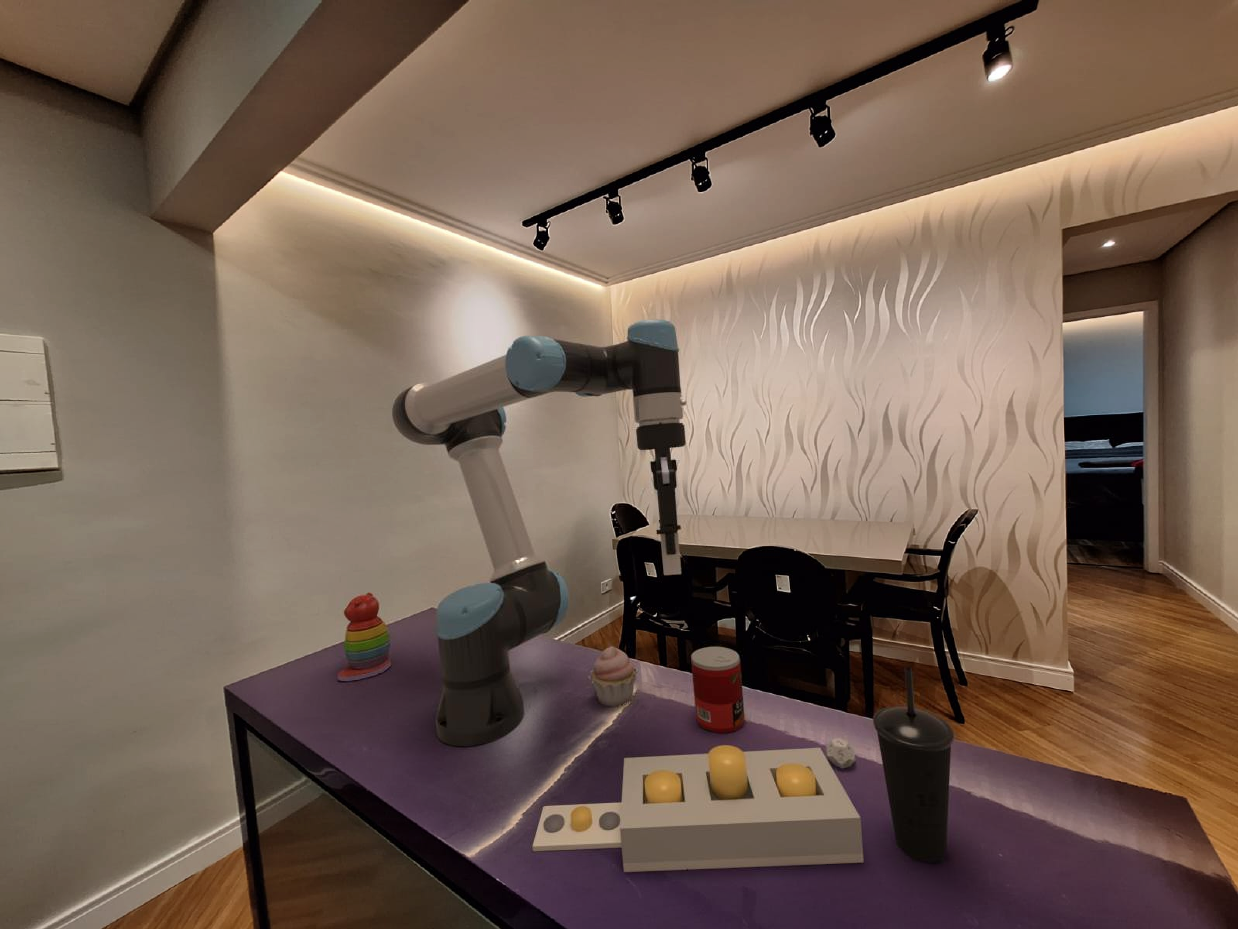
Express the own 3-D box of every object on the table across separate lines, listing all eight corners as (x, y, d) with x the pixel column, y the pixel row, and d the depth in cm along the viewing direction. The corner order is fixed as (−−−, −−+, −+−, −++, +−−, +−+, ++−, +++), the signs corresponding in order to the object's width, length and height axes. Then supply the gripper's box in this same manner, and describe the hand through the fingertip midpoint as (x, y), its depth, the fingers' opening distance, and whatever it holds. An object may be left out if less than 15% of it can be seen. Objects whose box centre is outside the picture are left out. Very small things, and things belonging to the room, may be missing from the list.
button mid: (713, 803, 57) (710, 769, 57) (708, 777, 61) (706, 746, 61) (751, 801, 57) (748, 767, 56) (743, 775, 61) (741, 744, 61)
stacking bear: (364, 660, 119) (356, 589, 118) (402, 659, 118) (394, 587, 117) (332, 682, 108) (323, 604, 108) (374, 681, 107) (365, 602, 106)
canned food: (746, 735, 76) (740, 666, 76) (695, 733, 78) (689, 666, 78) (743, 708, 84) (738, 646, 83) (697, 707, 85) (691, 646, 85)
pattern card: (533, 851, 58) (531, 836, 58) (544, 810, 64) (542, 797, 64) (625, 847, 57) (623, 832, 57) (627, 806, 63) (625, 793, 63)
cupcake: (630, 715, 85) (625, 659, 84) (582, 709, 88) (577, 655, 88) (647, 688, 93) (643, 637, 93) (603, 683, 97) (598, 634, 97)
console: (623, 872, 54) (619, 828, 54) (627, 794, 66) (624, 758, 66) (863, 862, 52) (860, 817, 52) (822, 784, 64) (820, 747, 64)
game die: (839, 775, 66) (837, 753, 66) (821, 758, 70) (820, 738, 69) (861, 769, 67) (859, 747, 67) (843, 752, 70) (841, 732, 70)
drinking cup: (866, 823, 57) (855, 657, 57) (927, 813, 58) (916, 649, 57) (910, 880, 50) (898, 690, 49) (980, 868, 50) (968, 680, 50)
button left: (647, 828, 57) (644, 796, 57) (647, 801, 62) (644, 771, 62) (684, 827, 57) (682, 794, 57) (681, 799, 62) (679, 769, 61)
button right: (784, 822, 57) (782, 789, 56) (774, 795, 61) (772, 764, 61) (823, 820, 56) (820, 787, 56) (810, 793, 61) (807, 762, 60)
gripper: (687, 419, 69) (701, 583, 69) (680, 422, 82) (692, 561, 82) (634, 423, 69) (649, 587, 70) (636, 426, 82) (648, 564, 83)
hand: (672, 573), depth 76 cm, fingers closed
